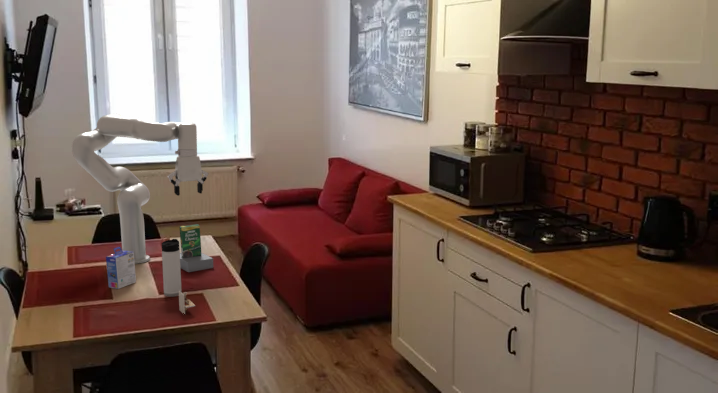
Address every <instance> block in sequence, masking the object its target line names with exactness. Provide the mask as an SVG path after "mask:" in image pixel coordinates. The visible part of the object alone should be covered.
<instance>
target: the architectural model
mask: <svg viewBox="0 0 718 393" xmlns="http://www.w3.org/2000/svg"><path fill="white" fill-rule="evenodd" d="M187 293H188V292H186V291H185V292H182V293H181V292H180V291H179V295H178V305H179V311H180V312H181V313H182V314H183V313H184V314H185V315H186V312H187V310H188V309H189V308H193V307H196V305H195V304H194V303H193V301H191V300H190V299H188V298H187ZM185 303H186V304H185ZM184 314H183V315H184Z"/></svg>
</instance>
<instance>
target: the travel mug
mask: <svg viewBox="0 0 718 393" xmlns="http://www.w3.org/2000/svg"><path fill="white" fill-rule="evenodd" d="M180 250H181V248H180V240H178V239H177V238H171V239H167V240H164V241H163V242H161V261H162V262H161V263H162V280H163V295H164V296H165V297H171V298H172V297H179V291H180V292H181V293H183V292H182V274H181V272H182V271H181V268H180V253H181V251H180Z"/></svg>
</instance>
